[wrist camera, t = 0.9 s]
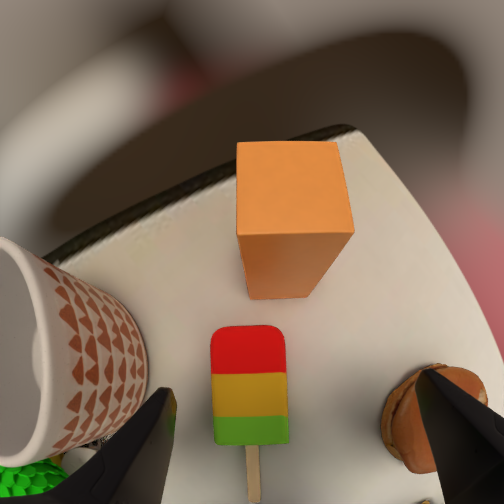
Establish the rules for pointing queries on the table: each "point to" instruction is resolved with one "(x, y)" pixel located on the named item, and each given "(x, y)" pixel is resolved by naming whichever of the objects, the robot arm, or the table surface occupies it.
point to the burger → (419, 418)
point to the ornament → (30, 478)
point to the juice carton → (290, 215)
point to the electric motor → (78, 457)
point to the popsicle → (249, 392)
